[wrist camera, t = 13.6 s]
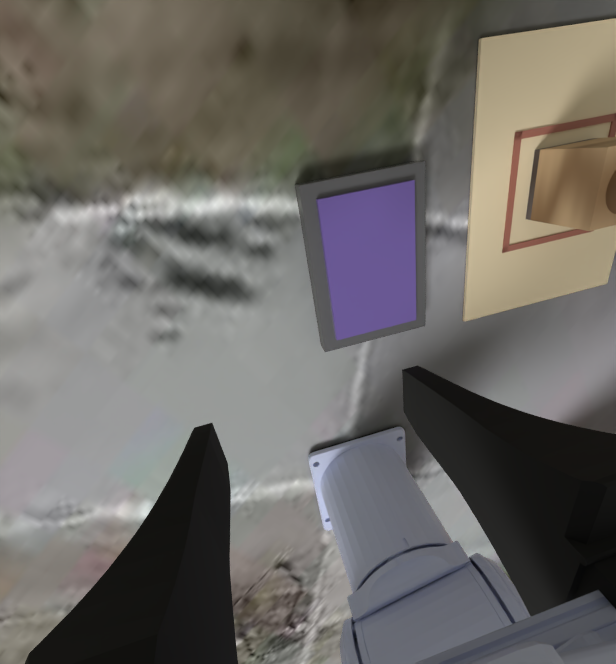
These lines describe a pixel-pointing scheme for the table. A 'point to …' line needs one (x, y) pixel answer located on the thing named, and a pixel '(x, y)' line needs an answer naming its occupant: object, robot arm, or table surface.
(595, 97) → the sheet
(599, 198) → the stamp
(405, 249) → the ink pad
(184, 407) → the table surface
